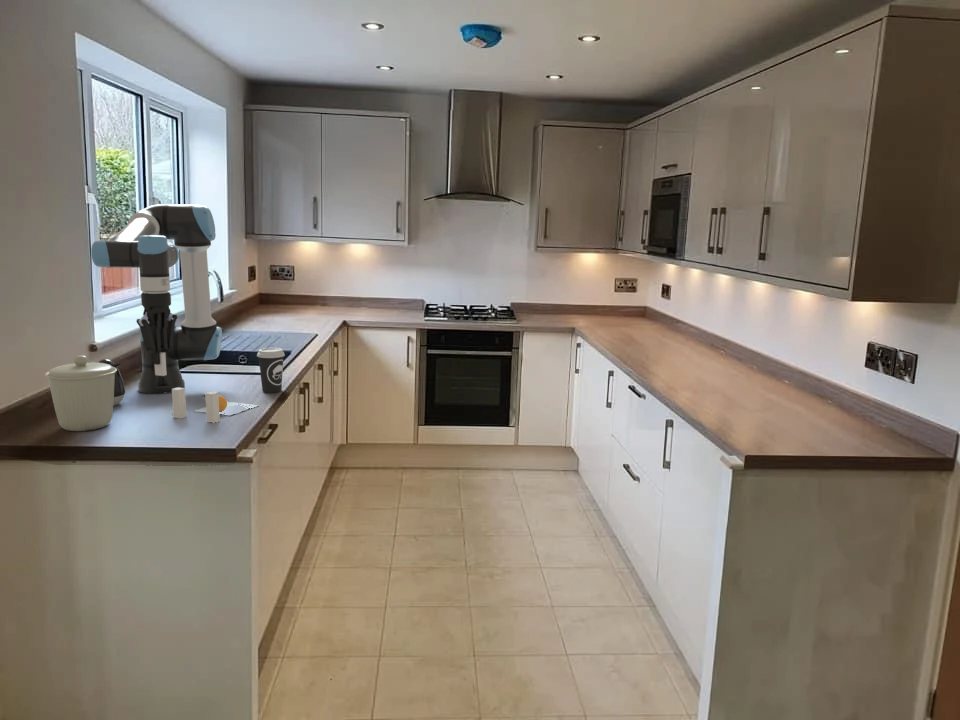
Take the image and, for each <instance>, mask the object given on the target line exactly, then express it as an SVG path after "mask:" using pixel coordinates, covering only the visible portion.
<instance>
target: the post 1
mask: <svg viewBox="0 0 960 720" xmlns="http://www.w3.org/2000/svg"><path fill="white" fill-rule="evenodd" d="M171 401H172V416H173V418H174V419H183V418H186V417H187V404H186V403H187V402H186V387H185V388H179V387H177V388H174V389H172V392H171Z"/></svg>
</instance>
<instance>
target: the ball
mask: <svg viewBox="0 0 960 720" xmlns="http://www.w3.org/2000/svg"><path fill="white" fill-rule="evenodd" d="M218 395H219V394H218ZM227 401H228V400H227V399H226V397H224V396H223V395H219V412H222V411H224V410H225V409H226V407H227Z"/></svg>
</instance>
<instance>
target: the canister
mask: <svg viewBox="0 0 960 720" xmlns="http://www.w3.org/2000/svg"><path fill="white" fill-rule="evenodd" d="M116 372H117V369H116V368H115V367H112V366H111V365H109V364H105V363H97V362H95V361H94V362H93V361H92V362H88V357H87V356H86V355H82V354H81V355H80V354H79V355H76V356H75V357H74V358H73V363H67V364H63V365H58V366H55V367H53V368H51V369H50V370H48V371H47V372H45V373H44V376H45V378H47V381H48V384H49V389H50V393H51V399H52V402H53V407H54V411H55V415H56V418H57V421H58V424H59V426H60V427H61V428H62V429H63V430H66V431H70V432H86V431H87V432H88V431H94V430H99V429H101V428H104V427H106V426H108V425H109V424H110V423H111V421H112V419H113V411H114V406H113V402H114V380H115V373H116Z"/></svg>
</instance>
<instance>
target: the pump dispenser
mask: <svg viewBox="0 0 960 720" xmlns="http://www.w3.org/2000/svg"><path fill="white" fill-rule="evenodd" d="M96 363H105V364H109V365H111V366H112V367H115V368H116V369H117V372H116V373H115V380H114V402H113V407H115V406H117V405H119V404H121V403H122V401H123V399H124V397H125V394H126V389H125V385H124V379H123V378H122V375H121V373H120V370H119V368H118V367H119V366H121V363H120V362H114V361H112V360H111V359H109V358H102V359H100V360H98V361H97V362H96Z"/></svg>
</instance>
